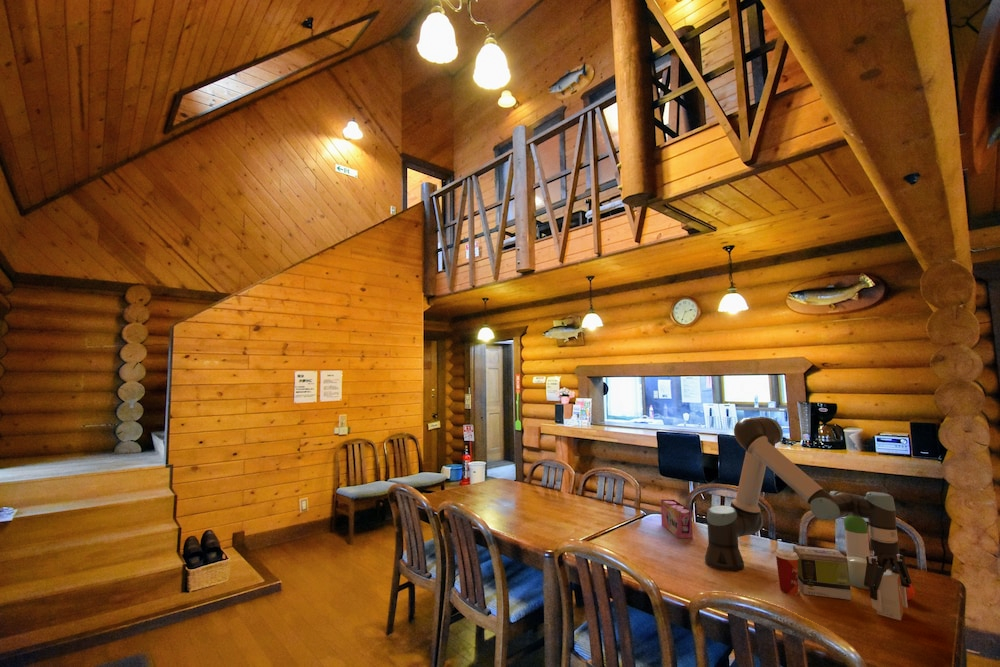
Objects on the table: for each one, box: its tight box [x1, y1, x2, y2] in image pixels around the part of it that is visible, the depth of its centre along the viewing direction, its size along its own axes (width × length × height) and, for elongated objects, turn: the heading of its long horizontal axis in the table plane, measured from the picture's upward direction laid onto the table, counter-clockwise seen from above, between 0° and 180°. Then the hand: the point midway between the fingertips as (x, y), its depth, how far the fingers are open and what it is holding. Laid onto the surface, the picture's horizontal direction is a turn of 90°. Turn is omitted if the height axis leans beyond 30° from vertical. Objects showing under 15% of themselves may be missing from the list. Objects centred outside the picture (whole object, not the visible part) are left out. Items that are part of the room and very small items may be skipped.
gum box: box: [660, 499, 694, 539], centre depth 237 cm, size 24×8×14 cm, turn 1°
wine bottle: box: [843, 515, 871, 559], centre depth 190 cm, size 8×8×30 cm
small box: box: [876, 569, 904, 621], centre depth 152 cm, size 8×6×13 cm
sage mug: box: [845, 555, 870, 590], centre depth 174 cm, size 10×8×9 cm
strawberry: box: [906, 583, 916, 601], centre depth 162 cm, size 8×7×7 cm
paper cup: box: [774, 549, 799, 596], centre depth 168 cm, size 8×8×14 cm
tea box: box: [792, 545, 853, 601], centre depth 168 cm, size 15×10×15 cm, turn 71°
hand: (890, 607), depth 152 cm, fingers open, 10 cm apart
